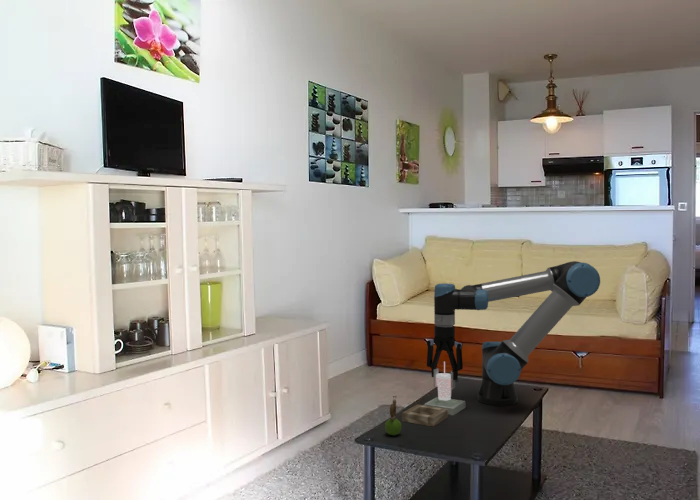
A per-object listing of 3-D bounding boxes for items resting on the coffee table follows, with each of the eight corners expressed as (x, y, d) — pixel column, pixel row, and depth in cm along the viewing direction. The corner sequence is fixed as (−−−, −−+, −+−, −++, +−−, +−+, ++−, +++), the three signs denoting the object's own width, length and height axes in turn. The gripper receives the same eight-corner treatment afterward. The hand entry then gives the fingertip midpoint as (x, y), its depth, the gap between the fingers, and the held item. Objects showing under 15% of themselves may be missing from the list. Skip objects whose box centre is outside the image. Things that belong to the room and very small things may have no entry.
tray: (465, 407, 239) (465, 400, 239) (453, 415, 229) (453, 408, 229) (436, 403, 245) (436, 396, 245) (423, 410, 235) (423, 404, 235)
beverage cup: (433, 397, 239) (433, 360, 238) (447, 396, 241) (447, 359, 240) (441, 401, 233) (441, 363, 233) (456, 400, 235) (455, 362, 235)
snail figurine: (403, 431, 212) (402, 396, 211) (400, 438, 205) (400, 401, 205) (386, 430, 213) (386, 395, 212) (383, 437, 207) (383, 400, 206)
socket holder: (447, 417, 227) (447, 409, 227) (433, 426, 217) (433, 417, 217) (417, 412, 233) (417, 404, 233) (402, 421, 223) (402, 412, 223)
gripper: (416, 324, 238) (416, 386, 239) (465, 328, 228) (464, 393, 229) (425, 322, 244) (425, 381, 245) (472, 326, 234) (472, 388, 235)
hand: (444, 387), depth 237 cm, fingers closed on beverage cup, 6 cm apart
